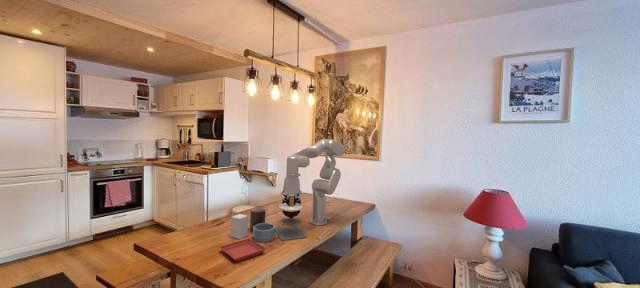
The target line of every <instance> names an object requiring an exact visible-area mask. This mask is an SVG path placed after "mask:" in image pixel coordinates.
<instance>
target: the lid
mask: <svg viewBox="0 0 640 288" xmlns="http://www.w3.org/2000/svg"><path fill="white" fill-rule="evenodd" d="M303 208H304V206H303V204H302V203H301V204H298V203H296V205H294V195H291V196H289V205H287V204H286V203H283V204H282V203H281V204H279V206H278V209H280V210H281V211H282V210H284V211H290V212H292V211H299V210H301V211H302V210H303Z"/></svg>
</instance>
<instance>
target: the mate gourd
mask: <svg viewBox="0 0 640 288" xmlns="http://www.w3.org/2000/svg"><path fill="white" fill-rule="evenodd" d="M289 196H292V194H289ZM283 203H286V198H285V197H284V196H283V198H282V201H281V204H283ZM296 203H298V204H301V205H302V200H301V198H300V196H298V197H297V199H296ZM301 211H302V210H299V211H292V212H290V211H284V210H281V213H282V214H283V215H284V217H287V218H284V219H283V220H282V225H286V226H297V225H299V224H300V220H299V219H297V218H296V217H297V216H299V214H300V213H301ZM294 217H295V218H294Z"/></svg>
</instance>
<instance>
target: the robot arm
mask: <svg viewBox="0 0 640 288" xmlns="http://www.w3.org/2000/svg"><path fill="white" fill-rule="evenodd" d="M323 153H324V157H325V161H324V163H323V164H322V168H321V169H320V172H319V177H320V178H318V179H317V178H316V179H314V180H313V181H312V183H311V189H312V190H311V191H312V208H311V210H312V211H311V212H312V215H311V219H310V220H309V223H310V224H311V225H314V226H324V225H327V224H328V221H330V220H332V216H328V215H327V216H326V212H327V211H326V210H327V209H326V208H327V207H326V206H327V205H326V203H327V198H326V195H329V196H331V195H333V194H334V193H335V191H336V189H337V187H338V185H339V182H340V180H341V174H342V173H341V171H340V169H339V168H338V167H336V164H337V161H336V159H335V158H336V157H335V156H337V157H343V156H344V155H345V153H346V147H345V146H344V144H342V143H341V142H339V141H337V140H335V139H332V138H331V139H330V138H322V139H320V140H318V141H317V142H315V143H313V144H312V145H310V146H309V147H305V148H302V149H299V150H297V151H296V152H294V153H293V154H291V156H287V158H286V168H285V169H286V174H285V177H284V180H283V187H282V191H281V193H280V195H281V196H283V198H284V197H285V198H286V204H287V205H289V194H290V195H293V196H294V205H296V199H297V197H300V196H301V195H303V192H302V190H301V185H300V178H299V177H301V173H299V168H307V167H308V166H309V165H310V164H311V163H310V162H311V160H310V159H315V158H318V157H319V156H321V155H322V154H323Z"/></svg>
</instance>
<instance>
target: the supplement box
mask: <svg viewBox="0 0 640 288" xmlns="http://www.w3.org/2000/svg"><path fill="white" fill-rule="evenodd" d="M230 219H231V220H230V221H231V222H230V237H231V238H234V239H237V240H240V239H243V238H245V237H247V236H248V235H249V233H248V232H249V231H248V230H249V215H247V214H242V213H238V214H236V215H232V216H231V217H230Z"/></svg>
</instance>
